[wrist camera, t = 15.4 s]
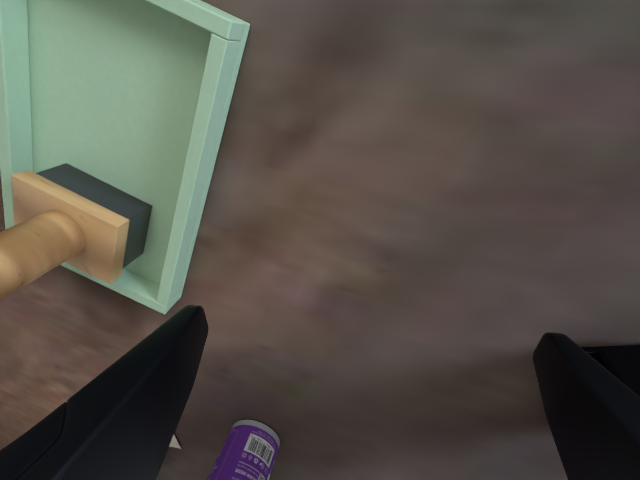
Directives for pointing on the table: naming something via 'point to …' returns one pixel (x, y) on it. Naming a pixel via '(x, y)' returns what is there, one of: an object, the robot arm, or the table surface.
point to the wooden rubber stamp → (69, 227)
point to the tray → (122, 112)
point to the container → (247, 453)
